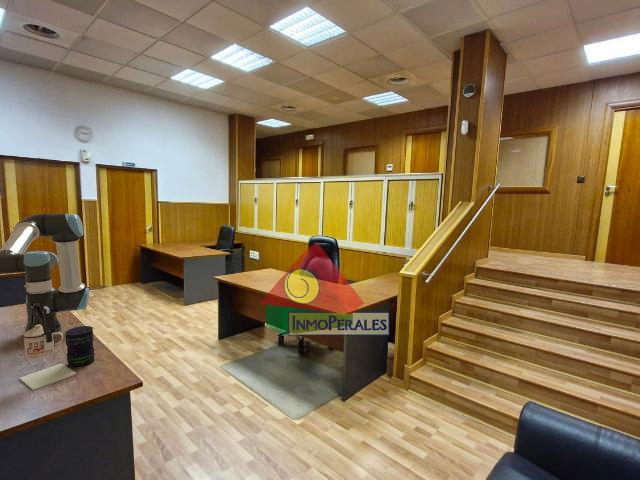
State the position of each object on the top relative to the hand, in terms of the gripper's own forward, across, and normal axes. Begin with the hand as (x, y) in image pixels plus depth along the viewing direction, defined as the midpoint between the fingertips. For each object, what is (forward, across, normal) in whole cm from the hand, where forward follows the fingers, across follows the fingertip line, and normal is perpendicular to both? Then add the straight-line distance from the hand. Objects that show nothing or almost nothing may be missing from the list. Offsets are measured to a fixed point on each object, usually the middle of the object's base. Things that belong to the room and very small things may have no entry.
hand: (43, 346), depth 129 cm
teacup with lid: (+3, +1, 0) cm, 3 cm away
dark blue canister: (+14, -3, +14) cm, 20 cm away
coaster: (+14, -1, +1) cm, 14 cm away
